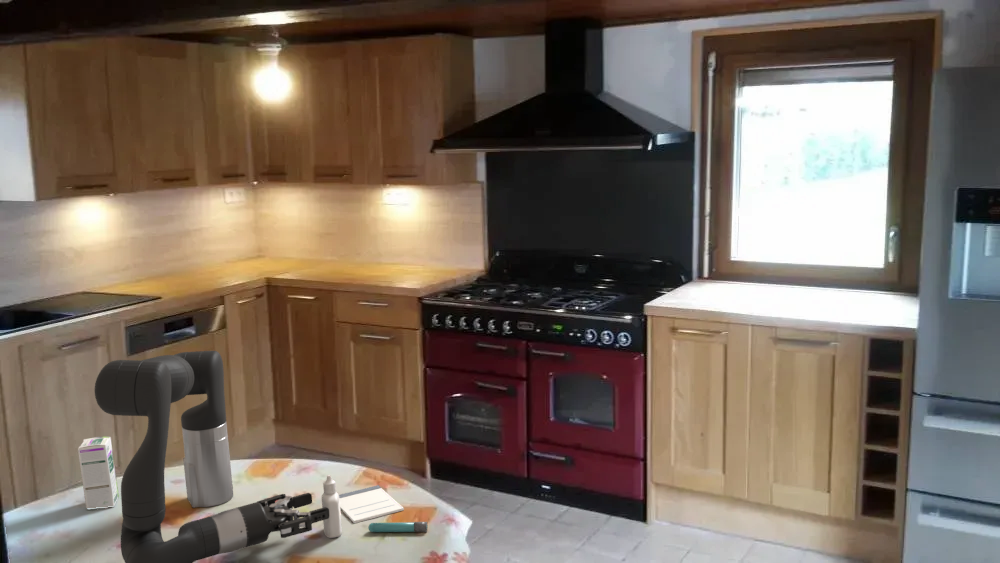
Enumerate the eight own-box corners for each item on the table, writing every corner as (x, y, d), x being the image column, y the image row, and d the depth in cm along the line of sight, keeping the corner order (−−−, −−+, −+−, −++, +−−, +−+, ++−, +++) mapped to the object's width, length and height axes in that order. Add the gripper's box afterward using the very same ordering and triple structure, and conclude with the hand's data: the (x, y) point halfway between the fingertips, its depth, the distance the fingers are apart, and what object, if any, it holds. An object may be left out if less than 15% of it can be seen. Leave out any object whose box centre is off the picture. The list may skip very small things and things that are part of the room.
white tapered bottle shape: (348, 526, 179) (344, 470, 177) (338, 539, 174) (334, 481, 172) (327, 525, 180) (323, 469, 178) (317, 538, 174) (313, 480, 172)
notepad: (354, 523, 181) (354, 520, 180) (331, 499, 193) (330, 496, 192) (403, 510, 186) (403, 507, 186) (378, 487, 198) (378, 485, 198)
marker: (367, 533, 176) (367, 524, 175) (369, 529, 177) (369, 520, 177) (426, 533, 175) (426, 524, 175) (428, 529, 177) (427, 520, 177)
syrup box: (114, 507, 192) (107, 443, 190) (85, 511, 191) (77, 447, 188) (119, 497, 198) (111, 435, 195) (90, 500, 196) (82, 438, 194)
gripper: (249, 522, 159) (333, 498, 168) (224, 496, 170) (304, 475, 179) (253, 561, 160) (336, 535, 169) (228, 533, 172) (307, 510, 181)
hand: (319, 504), depth 174 cm, fingers open, 8 cm apart
